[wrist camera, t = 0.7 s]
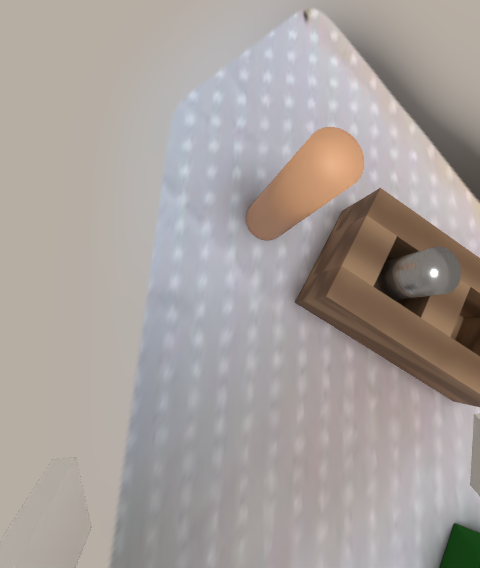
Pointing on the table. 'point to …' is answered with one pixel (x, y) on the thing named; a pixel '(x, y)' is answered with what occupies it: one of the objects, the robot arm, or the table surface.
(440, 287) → the steel pin
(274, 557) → the table surface
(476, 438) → the robot arm
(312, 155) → the peg
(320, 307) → the hole block
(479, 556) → the milk carton
